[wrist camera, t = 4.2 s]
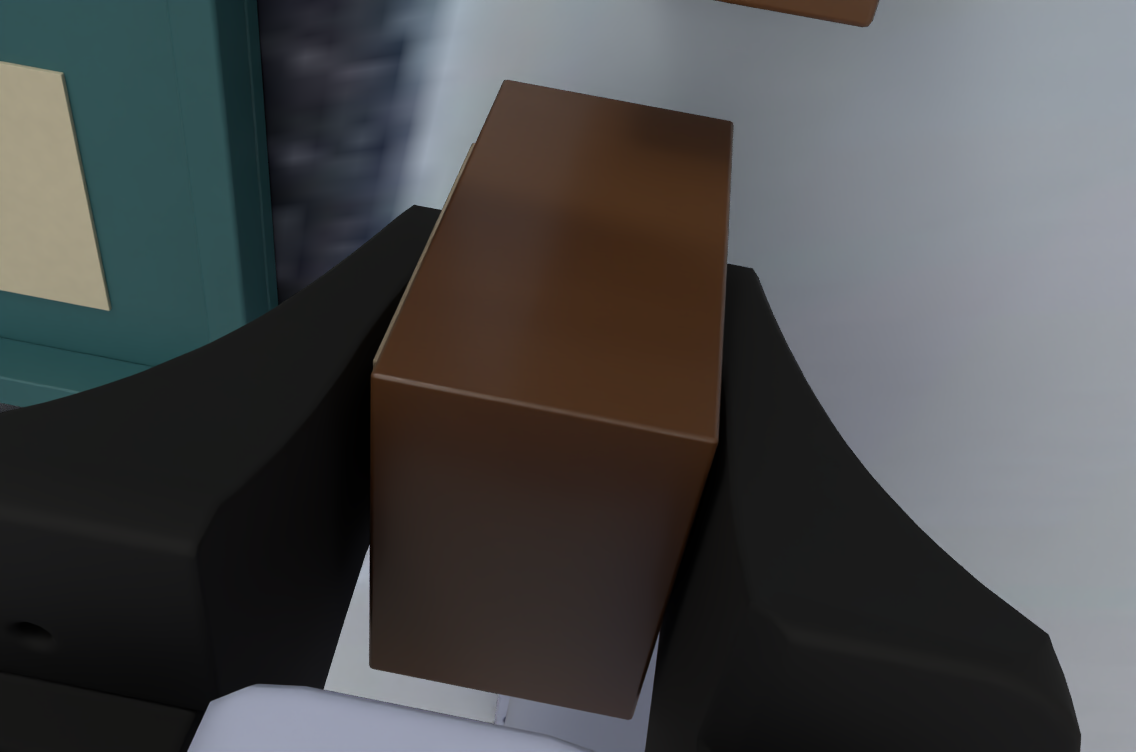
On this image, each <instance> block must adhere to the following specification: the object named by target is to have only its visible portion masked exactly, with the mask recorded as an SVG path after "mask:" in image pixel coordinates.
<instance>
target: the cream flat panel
mask: <svg viewBox="0 0 1136 752" xmlns="http://www.w3.org/2000/svg"><path fill="white" fill-rule="evenodd" d="M0 290H3V291H8V292H13V293H18V294H24V295H29V296H34V297H39V298H45V299H50V300H55V301H60V302H65V303H71V304H76V305H81V306H86V307H92V308H97V309H102V310H107V311H110V310H111V303H110V298H109V293H108V288H107V284H106V279H105V274H104V269H103V264H102V259H101V254H100V249H99V244H98V239H97V234H96V229H95V225H94V220H93V215H92V210H91V205H90V200H89V195H88V190H87V185H86V180H85V175H84V170H83V166H82V161H81V156H80V151H79V146H78V141H77V136H76V131H75V126H74V121H73V116H72V111H71V106H70V102H69V97H68V92H67V87H66V82H65V77H64V73H62V72H57V71H52V70H46V69H41V68H35V67H30V66H25V65H19V64H14V63H8V62H3V61H0Z"/></svg>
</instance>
